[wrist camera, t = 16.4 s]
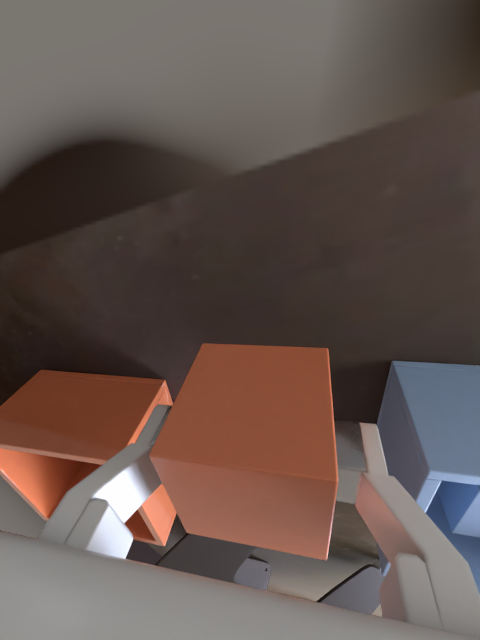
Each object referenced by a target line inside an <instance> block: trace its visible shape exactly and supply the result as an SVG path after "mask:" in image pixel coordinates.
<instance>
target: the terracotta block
mask: <svg viewBox="0 0 480 640" xmlns="http://www.w3.org/2000/svg"><path fill="white" fill-rule="evenodd" d="M149 457H150V459H151V461H152V463H153V465H154V467H155V469H156V471H157V474H158V476H159V478H160V480H161V482H162V484H163V486H164V488H165V490H166V492H167V494H168V496H169V498H170V500H171V502H172V504H173V506H174V508H175V510H176V512H177V514H178V516H179V518H180V520H181V522H182V524H183V526H184V529H185V531H186V532H187V533H190V534H195V535H200V536H205V537H210V538H215V539H220V540H225V541H231V542H236V543H241V544H246V545H251V546H256V547H261V548H266V549H271V550H276V551H282V552H287V553H292V554H297V555H302V556H307V557H312V558H317V559H322V560H327V557H328V550H329V543H330V536H331V529H332V522H333V515H334V509H335V502H336V495H337V488H338V481H339V479H338V466H337V454H336V441H335V428H334V415H333V403H332V390H331V377H330V364H329V352H328V348H313V347H287V346H261V345H235V344H210V343H203V344H202V346H201V348H200V350H199V352H198V354H197V356H196V358H195V360H194V362H193V364H192V366H191V368H190V371H189V373H188V375H187V377H186V379H185V381H184V383H183V385H182V387H181V389H180V391H179V393H178V395H177V398H176V400H175V402H174V404H173V406H172V408H171V410H170V412H169V414H168V416H167V418H166V420H165V422H164V425H163V427H162V429H161V431H160V433H159V435H158V437H157V439H156V441H155V443H154V445H153V447H152V449H151V452H150V454H149Z"/></svg>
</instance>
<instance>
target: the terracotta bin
mask: <svg viewBox="0 0 480 640" xmlns="http://www.w3.org/2000/svg"><path fill="white" fill-rule="evenodd" d="M158 404H161V405H171V406H173V402H172V399H171V396H170V393H169V389H168V386H167V383H166V380H164V379H151V378H139V377H127V376H114V375H102V374H90V373H78V372H65V371H53V370H40V371H39V372H38V373H37V374H36V375H35V376H33V377H32V378H31V379H30V380H29V381H28V382H27V383H26V384H24V385H23V386H22V387H21V388H20V389H19V390H18V391H17V392H16V393H14V394H13V395H12V396H11V397H10V398H9V399H8V400H7V401H6V402H4V403H3V404H2V405H1V406H0V475H1V476H2V477H3V478H4V479H5V480H6V481H7V482H8V483H9V484H10V485H11V486H12V487H13V488H14V489H15V490H16V492H17V493H18V494H20V496H21V497H22V498H23V499H24V500H25V501H26V502H27V503H28V504H29V505H30V506H31V507H32V508H33V509H34V510H35V511H36V512H37V513H38V514H39V515H40V516H41V517H42V518H43V519H44V520H47V521H48V520H49V518H50V517H51V515H52V514H53V512H54V511H55V509H56V508H57V506H58V505H59V503H60V502H61V500H62V499H63V497H64V496H65V494H66V493H67V491H68V490H70V489H71V488H72V487H74V486H75V485H76V484H78V483H79V482H80V481H82V480H83V479H84V478H86V477H87V476H88V475H90V474H91V473H92V472H94V471H95V470H96V469H98V468H99V467H100V466H102V465H103V464H104V463H106V462H107V461H108V460H110V459H111V458H112V457H114V456H115V455H116V454H118V453H119V452H120V451H122V450H123V449H124V448H125V447H127V446H128V445H129V444H131V443H136V441H137V439H138V437H139V435H140V433H141V432H142V430H143V428H144V426H145V424H146V422H147V421H148V419H149V417H150V415H151V413H152V411H153V409H154V408H155V407H156V406H157V405H158ZM176 513H177V512H176V510H175V508H174V506H173V504H172V502H171V500H170V498H169V496H168V494H167V492H166V490H165V488H164V486H163V484H161V485H160V486H159V487H158V488H157V489H156V490H155V491H154V492H153V493H152V494H151V495H150V497H149V498H148V499H147V500H146V501H145V502H144V503H143V504H142V505H141V506H140V507H139V508H138V509H137V510H136V511H135V512H134V513H133V514H132V516H131V517H130V518H129V519H128V520H127V521H126V522H125V523H124V524H125V525H126V526H127V528H128V529H129V530H130V532H131V533H132V535H133V540H138V541H142V542H147V543H151V544H156V545H160V546H165V544H166V542H167V539H168V536H169V533H170V530H171V527H172V524H173V522H174V519H175V516H176Z"/></svg>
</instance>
